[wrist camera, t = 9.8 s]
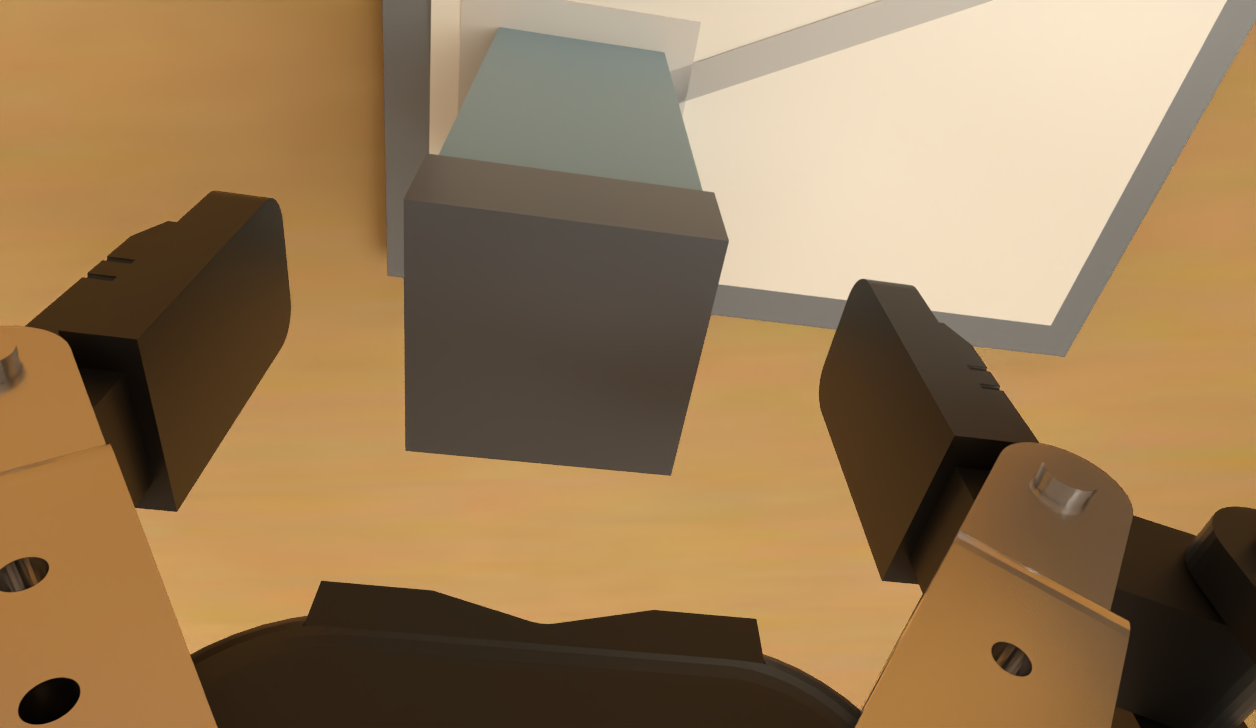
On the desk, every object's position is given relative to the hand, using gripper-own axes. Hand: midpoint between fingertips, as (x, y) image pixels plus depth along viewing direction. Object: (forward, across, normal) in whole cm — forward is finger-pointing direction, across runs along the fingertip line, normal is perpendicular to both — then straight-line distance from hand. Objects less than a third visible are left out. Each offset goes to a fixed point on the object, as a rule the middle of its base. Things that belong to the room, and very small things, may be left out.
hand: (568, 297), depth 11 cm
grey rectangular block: (+7, 0, 0) cm, 7 cm away
